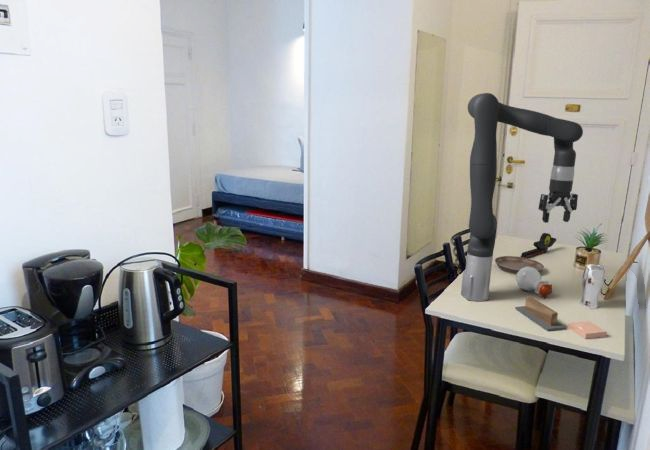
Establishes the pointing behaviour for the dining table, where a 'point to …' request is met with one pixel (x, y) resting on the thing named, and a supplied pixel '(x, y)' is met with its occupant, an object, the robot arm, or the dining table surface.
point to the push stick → (541, 311)
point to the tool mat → (539, 321)
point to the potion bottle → (533, 282)
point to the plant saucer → (517, 264)
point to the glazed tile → (587, 329)
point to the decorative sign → (540, 246)
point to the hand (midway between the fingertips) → (555, 221)
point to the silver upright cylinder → (592, 285)
